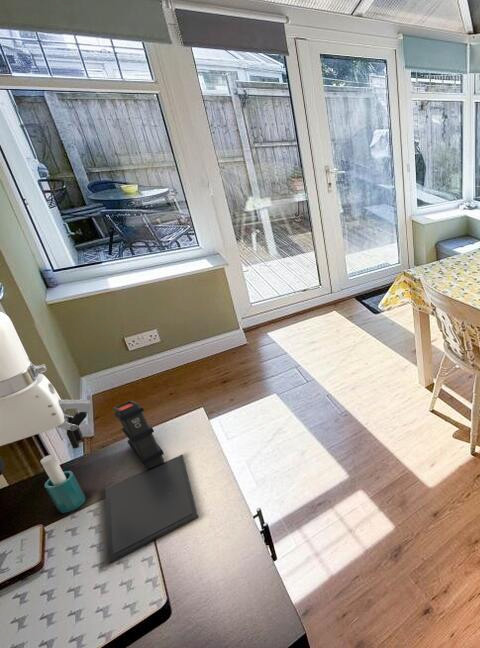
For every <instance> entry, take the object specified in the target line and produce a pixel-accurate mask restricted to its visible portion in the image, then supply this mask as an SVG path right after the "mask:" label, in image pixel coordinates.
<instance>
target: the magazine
mask: <svg viewBox="0 0 480 648" xmlns="http://www.w3.org/2000/svg"><path fill="white" fill-rule="evenodd" d="M113 409H114V411H115V412H114V413H113V415H114V417H116V418H117V419H118V420H119V422H120V423H121V426H122V428H121V431H122V432H123V433H124V435H125V436H126V437H127V439H128V440H127V441H126V442H127V444H128V445H129V447H130V448H131V450H132V452H133V453H134V454H135V456H136V458H137V459H138V460H139V462H140V463H141V465H142V466H143V467H144V468H145V470H148V469H150V468H153V467H155V466H157V465H159V464H162V463H164V462H165V460H164V457H163V455H164V454H165V453H164V451H163V448H161V447H160V445H159V444H158V443H157V441H156V438H155V436H154V434H153V433H154V432H155V430H154V428H153V427H152V426H151V425H150V424H149V423H148V421H147V419H146V417H145V415H144V413H143V412H144V411H145V409H144V407H143V406H140V404H139V402H136V401H133V400H129V401H127V402H125V403H122V404H119V405H117V406H115V407H113Z"/></svg>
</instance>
